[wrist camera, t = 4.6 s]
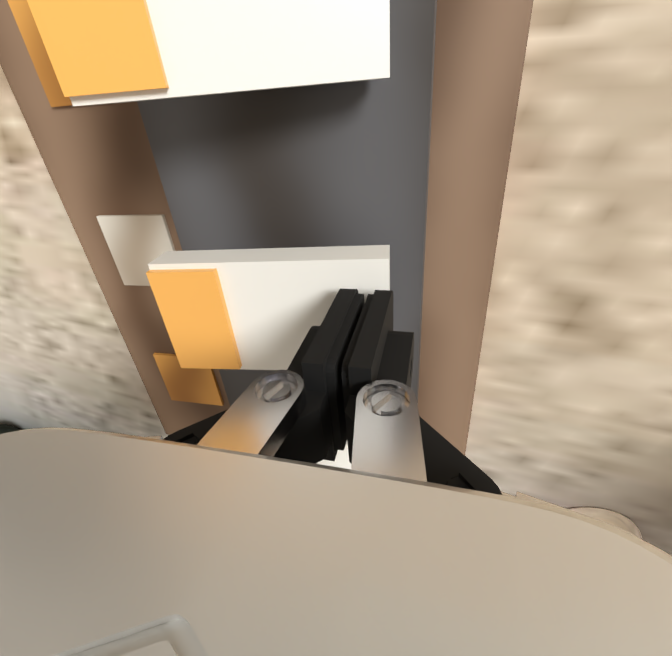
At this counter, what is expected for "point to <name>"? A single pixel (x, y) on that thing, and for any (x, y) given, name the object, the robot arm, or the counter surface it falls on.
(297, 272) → the block
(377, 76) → the plate
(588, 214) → the counter surface
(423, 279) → the switch unit
